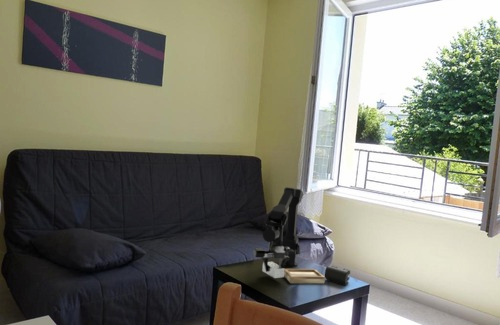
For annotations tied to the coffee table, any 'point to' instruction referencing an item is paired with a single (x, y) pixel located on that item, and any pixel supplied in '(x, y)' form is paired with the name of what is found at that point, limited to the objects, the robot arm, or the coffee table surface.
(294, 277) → the beech stand
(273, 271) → the block
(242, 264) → the coffee table surface
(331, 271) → the end cap
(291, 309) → the coffee table surface
